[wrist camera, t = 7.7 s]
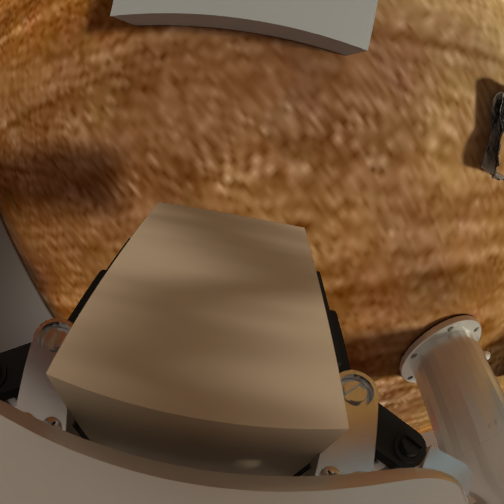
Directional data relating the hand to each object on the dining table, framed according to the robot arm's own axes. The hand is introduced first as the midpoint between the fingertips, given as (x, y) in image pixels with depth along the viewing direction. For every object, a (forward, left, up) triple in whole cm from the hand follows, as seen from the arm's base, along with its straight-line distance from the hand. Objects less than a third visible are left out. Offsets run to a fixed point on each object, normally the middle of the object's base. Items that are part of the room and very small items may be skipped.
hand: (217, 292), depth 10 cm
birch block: (0, 0, -1) cm, 1 cm away
